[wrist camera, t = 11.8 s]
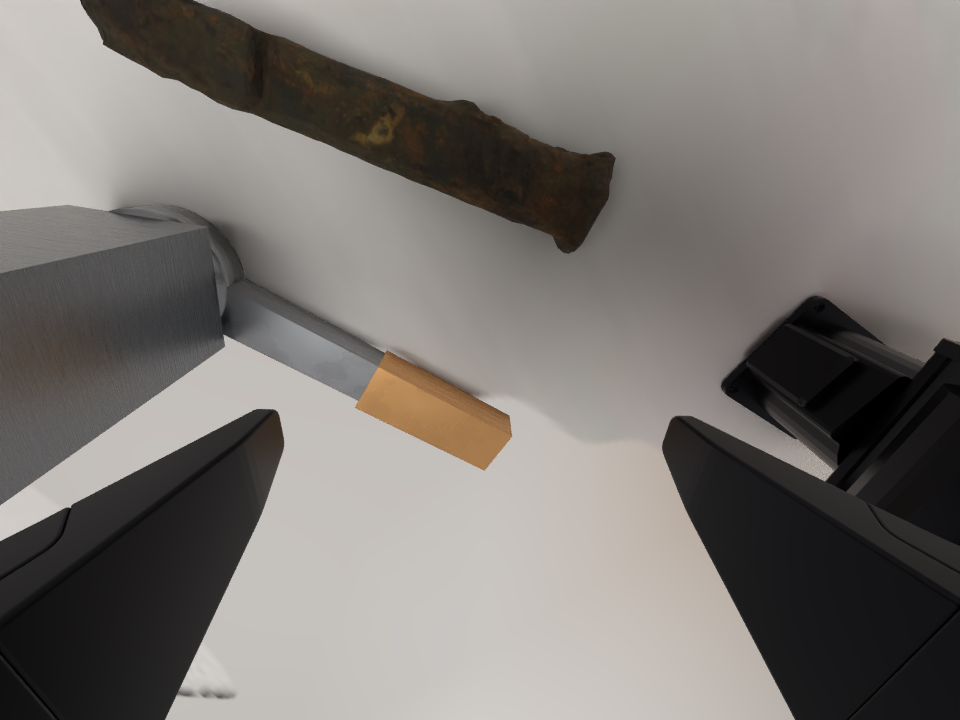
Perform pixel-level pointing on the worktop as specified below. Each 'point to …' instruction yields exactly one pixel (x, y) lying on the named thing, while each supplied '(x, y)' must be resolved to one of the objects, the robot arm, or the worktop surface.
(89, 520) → the robot arm
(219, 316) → the grey metal square prism
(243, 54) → the hand tool
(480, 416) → the ratchet
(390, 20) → the worktop surface
